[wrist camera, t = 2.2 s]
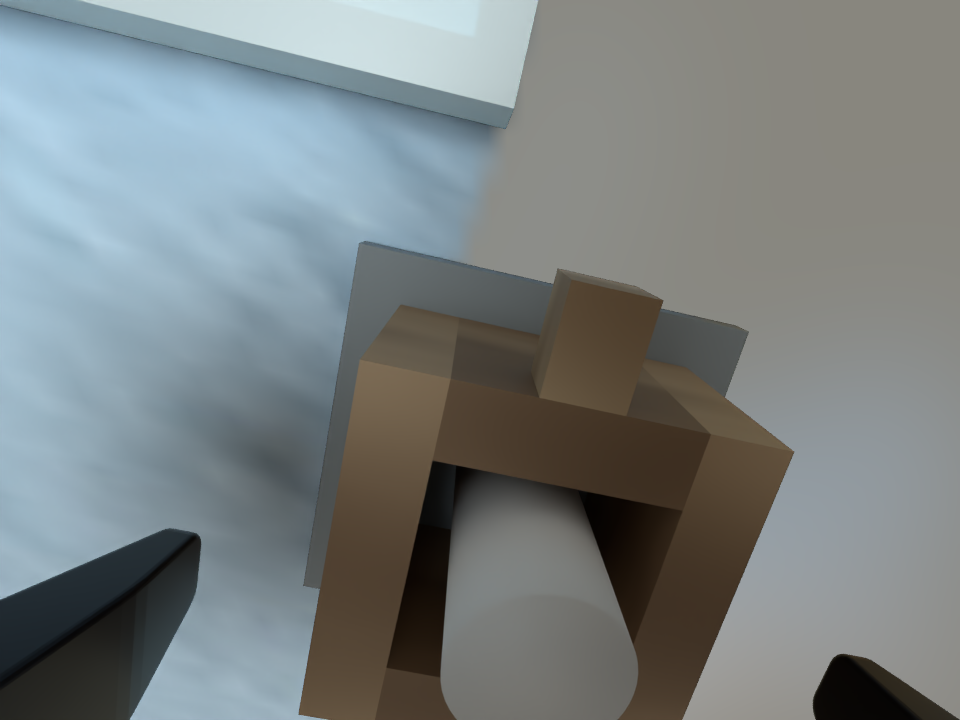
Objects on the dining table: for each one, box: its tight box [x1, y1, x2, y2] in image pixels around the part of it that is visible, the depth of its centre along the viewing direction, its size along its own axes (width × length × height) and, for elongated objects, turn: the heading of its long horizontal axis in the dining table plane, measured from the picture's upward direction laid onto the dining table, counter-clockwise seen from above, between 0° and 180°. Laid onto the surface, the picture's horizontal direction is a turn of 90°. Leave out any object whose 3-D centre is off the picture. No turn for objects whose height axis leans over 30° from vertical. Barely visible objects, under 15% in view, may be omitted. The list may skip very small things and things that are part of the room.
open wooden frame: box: [298, 269, 794, 720], centre depth 10 cm, size 8×6×4 cm
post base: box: [303, 241, 748, 720], centre depth 10 cm, size 8×8×6 cm
